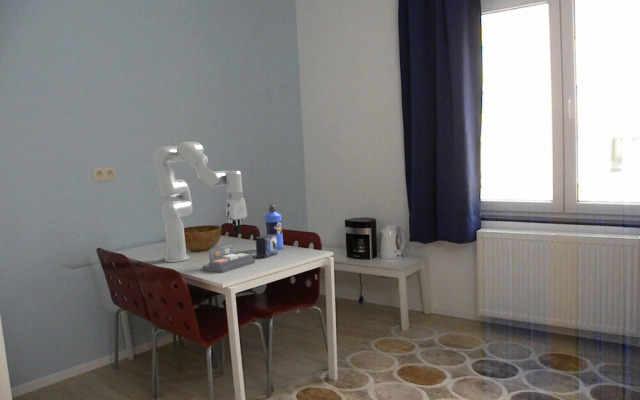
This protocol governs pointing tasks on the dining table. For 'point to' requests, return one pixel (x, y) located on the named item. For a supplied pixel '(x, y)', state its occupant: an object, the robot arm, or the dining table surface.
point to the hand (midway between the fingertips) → (237, 233)
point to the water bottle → (274, 225)
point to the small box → (266, 246)
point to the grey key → (230, 256)
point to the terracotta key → (220, 260)
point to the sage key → (242, 255)
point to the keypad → (228, 265)
